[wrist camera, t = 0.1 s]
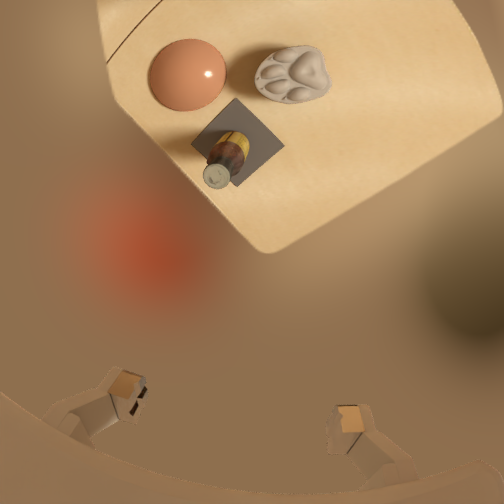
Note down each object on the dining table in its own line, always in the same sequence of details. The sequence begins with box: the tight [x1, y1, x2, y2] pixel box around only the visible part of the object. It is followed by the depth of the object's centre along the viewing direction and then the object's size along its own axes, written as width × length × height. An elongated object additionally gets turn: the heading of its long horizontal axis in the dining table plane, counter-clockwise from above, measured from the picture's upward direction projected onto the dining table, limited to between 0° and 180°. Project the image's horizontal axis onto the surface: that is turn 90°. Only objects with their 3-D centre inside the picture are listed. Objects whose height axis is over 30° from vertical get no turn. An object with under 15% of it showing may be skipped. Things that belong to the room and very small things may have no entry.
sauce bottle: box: [203, 131, 249, 189], centre depth 46 cm, size 6×6×20 cm
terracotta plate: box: [150, 39, 226, 111], centre depth 46 cm, size 16×16×1 cm
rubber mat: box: [191, 98, 284, 187], centre depth 54 cm, size 14×14×1 cm
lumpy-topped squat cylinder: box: [254, 45, 332, 104], centre depth 41 cm, size 10×13×9 cm
